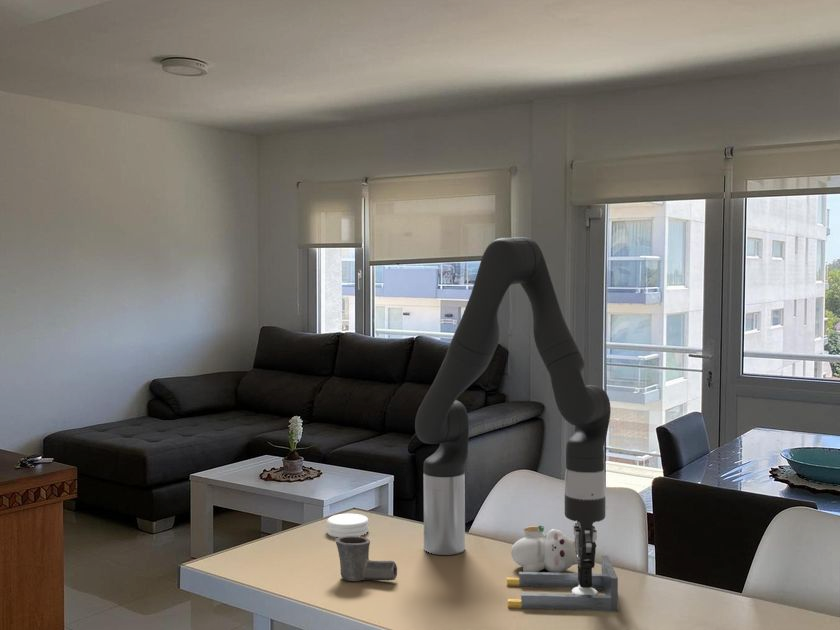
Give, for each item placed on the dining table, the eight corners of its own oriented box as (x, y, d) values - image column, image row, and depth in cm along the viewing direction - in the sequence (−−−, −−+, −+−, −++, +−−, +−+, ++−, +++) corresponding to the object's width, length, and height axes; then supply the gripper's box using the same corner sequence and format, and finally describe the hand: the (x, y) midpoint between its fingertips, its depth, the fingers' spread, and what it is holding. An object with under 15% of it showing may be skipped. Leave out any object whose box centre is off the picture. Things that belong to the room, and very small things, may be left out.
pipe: (391, 588, 154) (391, 547, 153) (329, 582, 157) (329, 542, 157) (400, 577, 159) (399, 538, 159) (340, 571, 163) (340, 533, 162)
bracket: (506, 583, 155) (506, 553, 155) (607, 586, 154) (607, 555, 153) (507, 607, 143) (507, 575, 143) (617, 611, 142) (617, 578, 141)
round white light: (318, 533, 189) (318, 519, 189) (347, 524, 197) (347, 510, 197) (347, 542, 183) (347, 527, 183) (377, 532, 190) (377, 517, 190)
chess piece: (599, 591, 149) (599, 539, 149) (596, 601, 145) (596, 547, 145) (573, 588, 151) (573, 537, 151) (569, 598, 146) (569, 544, 146)
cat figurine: (506, 523, 164) (579, 521, 159) (516, 533, 171) (585, 531, 166) (506, 569, 160) (580, 569, 155) (515, 578, 166) (587, 578, 161)
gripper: (610, 502, 140) (610, 599, 141) (600, 484, 154) (600, 571, 154) (568, 502, 141) (567, 597, 141) (561, 483, 155) (561, 570, 155)
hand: (584, 583), depth 148 cm, fingers closed on chess piece
